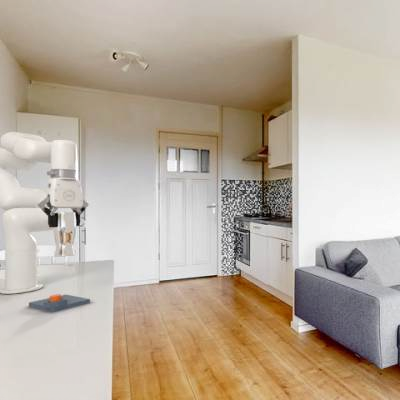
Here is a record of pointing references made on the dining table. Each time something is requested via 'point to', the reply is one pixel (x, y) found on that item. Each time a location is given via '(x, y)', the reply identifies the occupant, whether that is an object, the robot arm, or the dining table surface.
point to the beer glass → (65, 233)
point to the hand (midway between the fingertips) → (64, 226)
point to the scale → (59, 303)
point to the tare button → (55, 298)
